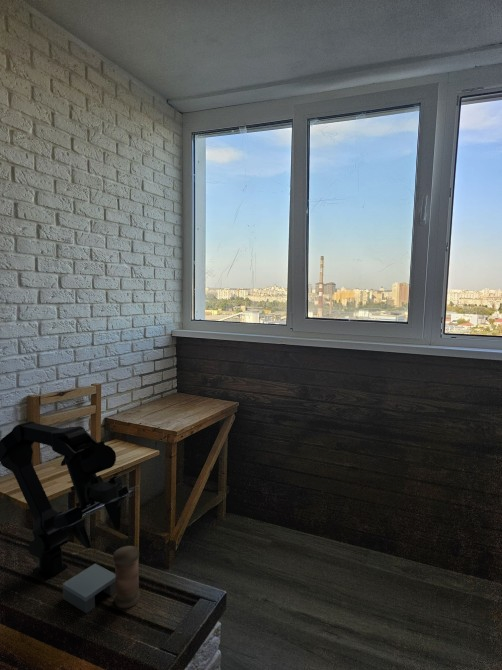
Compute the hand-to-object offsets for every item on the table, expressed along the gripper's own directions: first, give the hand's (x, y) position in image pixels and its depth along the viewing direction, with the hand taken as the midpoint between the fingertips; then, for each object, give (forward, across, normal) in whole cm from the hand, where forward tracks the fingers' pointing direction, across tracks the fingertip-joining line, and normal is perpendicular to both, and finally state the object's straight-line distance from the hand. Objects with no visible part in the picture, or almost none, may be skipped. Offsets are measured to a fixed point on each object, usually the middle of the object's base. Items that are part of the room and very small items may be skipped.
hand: (104, 538), depth 105 cm
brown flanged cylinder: (+16, +2, +1) cm, 16 cm away
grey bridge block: (+12, -2, +9) cm, 15 cm away
